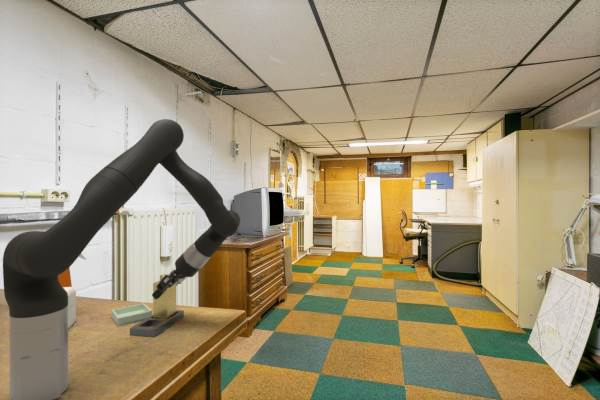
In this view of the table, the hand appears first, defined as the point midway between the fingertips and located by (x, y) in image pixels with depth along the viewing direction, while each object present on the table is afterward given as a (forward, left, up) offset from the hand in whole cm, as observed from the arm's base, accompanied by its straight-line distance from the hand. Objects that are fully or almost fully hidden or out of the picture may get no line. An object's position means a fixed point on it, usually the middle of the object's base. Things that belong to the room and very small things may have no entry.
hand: (159, 294), depth 101 cm
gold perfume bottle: (-1, -1, -7) cm, 7 cm away
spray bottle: (+24, +22, -9) cm, 34 cm away
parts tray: (+9, +6, -9) cm, 14 cm away
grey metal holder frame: (-3, +1, -9) cm, 9 cm away
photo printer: (+14, +24, -9) cm, 30 cm away
